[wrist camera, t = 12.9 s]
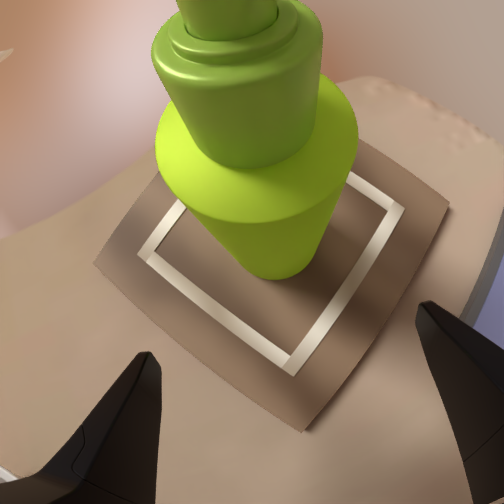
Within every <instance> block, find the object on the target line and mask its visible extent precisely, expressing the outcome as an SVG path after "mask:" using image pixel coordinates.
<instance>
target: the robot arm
mask: <svg viewBox="0 0 504 504" xmlns="http://www.w3.org/2000/svg"><path fill="white" fill-rule="evenodd" d="M415 324H416V328H417V331H418V334H419V337H420V341H421V344H422V347H423V350H424V354H425V357H426V360H427V363H428V366H429V369H430V371H431V373H432V376H433V378H434V381H435V383H436V386H437V388H438V391H439V393H440V396H441V399H442V401H443V404H444V407H445V409H446V412H447V415H448V418H449V421H450V423H451V426H452V429H453V432H454V435H455V438H456V441H457V445H458V448H459V451H460V454H461V458H462V461H463V465H464V468H465V472H466V476H467V479H468V483H469V487H470V491H471V495H472V500H473V504H489V503H491V502H494V501H496V500H498V499H500V498H502V497H504V349H502V348H501V347H499V346H498V345H497V344H495V343H494V342H492V341H491V340H489V339H488V338H487V337H485V336H484V335H482V334H481V333H479V332H478V331H476V330H475V329H473V328H472V327H470V326H469V325H468V324H466V323H465V322H463V321H462V320H460V319H459V318H457V317H456V316H454V315H453V314H451V313H450V312H448V311H446V310H445V309H443V308H442V307H440V306H439V305H437V304H436V303H434V302H433V301H425V302H422V303H420V304H419V306H418V311H417V315H416V320H415ZM161 412H162V371H161V367H160V365H159V363H158V362H157V360H156V359H155V357H154V356H153V354H152V353H151V352H149V351H147V352H140V353H138V354H137V355H136V356H135V358H134V359H133V360H132V361H131V363H130V364H129V365H128V366H127V368H126V369H125V370H124V371H123V372H122V374H121V375H120V376H119V377H118V379H117V380H116V381H115V382H114V384H113V385H112V386H111V387H110V389H109V390H108V391H107V392H106V394H105V395H104V396H103V397H102V399H101V400H100V401H99V402H98V404H97V405H96V406H95V407H94V409H93V410H92V411H91V412H90V414H89V415H88V416H87V418H86V419H85V420H84V421H83V423H82V424H81V425H80V426H79V428H78V429H77V430H76V431H75V433H74V434H73V435H72V436H71V438H70V439H69V440H68V441H67V442H66V443H65V445H64V446H63V447H62V448H61V449H60V450H59V451H58V452H57V453H56V454H55V455H54V456H53V457H52V458H51V460H50V461H49V462H48V463H47V464H46V465H45V466H44V467H43V468H42V469H41V470H40V471H38V472H37V473H35V474H34V475H32V476H29V477H25V478H21V479H17V480H13V481H9V482H4V483H0V504H155V497H156V477H157V461H158V447H159V434H160V423H161ZM502 504H504V503H502Z"/></svg>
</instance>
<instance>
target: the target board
mask: <svg viewBox="0 0 504 504" xmlns="http://www.w3.org/2000/svg"><path fill="white" fill-rule="evenodd" d="M449 203H450V202H449V201H448V200H446V199H445V198H444V197H443V196H441V195H440V194H439V193H437V192H436V191H435V190H434V189H432V188H431V187H430V186H428V185H427V184H426V183H424V182H423V181H422V180H420V179H419V178H417V177H416V176H415V175H413V174H412V173H411V172H409V171H408V170H406V169H405V168H403V167H402V166H401V165H399V164H398V163H396V162H395V161H393V160H392V159H390V158H389V157H387V156H386V155H384V154H383V153H381V152H380V151H378V150H377V149H375V148H373V147H372V146H370V145H369V144H367V143H365V142H364V141H362V140H361V139H359V138H358V148H357V153H356V157H355V160H354V163H353V165H352V168H351V170H350V173H349V175H348V178H347V180H346V182H345V185H344V187H343V190H342V192H341V195H340V197H339V199H338V202H337V204H336V206H335V209H334V211H333V213H332V216H331V218H330V220H329V223H328V225H327V227H326V229H325V232H324V234H323V236H322V238H321V241H320V243H319V245H318V247H317V250H316V252H315V254H314V256H313V258H312V260H311V261H310V262H309V264H308V265H307V266H306V267H305V268H304V269H303V270H302V271H300V272H299V273H297V274H296V275H294V276H292V277H289V278H286V279H281V280H267V279H263V278H259V277H257V276H255V275H253V274H251V273H249V272H248V271H247V270H246V269H244V268H243V267H242V266H241V265H240V264H239V262H238V261H237V260H236V259H235V258H234V257H233V256H232V255H231V254H230V253H229V252H228V251H227V250H226V249H225V248H224V247H223V246H222V245H221V244H220V243H219V242H218V240H217V239H216V238H215V237H214V236H213V235H212V234H211V233H210V232H209V231H208V230H207V229H206V228H205V227H204V226H203V225H202V224H201V223H200V221H199V220H198V219H197V218H196V217H195V216H194V215H193V214H192V213H191V212H190V211H189V210H188V209H187V208H186V207H185V206H184V204H183V203H182V202H181V201H180V200H179V199H178V198H177V197H176V196H175V195H174V194H173V193H172V191H171V190H170V189H169V187H168V186H167V185H166V183H165V181H164V180H163V178H162V176H161V173H160V171H159V172H158V173H157V175H156V176H155V177H154V178H153V180H152V181H151V182H150V183H149V185H148V186H147V187H146V189H145V190H144V191H143V192H142V194H141V195H140V196H139V198H138V199H137V200H136V202H135V203H134V204H133V206H132V207H131V208H130V210H129V211H128V212H127V214H126V215H125V217H124V218H123V219H122V221H121V222H120V224H119V225H118V226H117V228H116V229H115V231H114V232H113V234H112V235H111V237H110V238H109V239H108V241H107V242H106V244H105V245H104V247H103V248H102V250H101V251H100V253H99V254H98V256H97V257H96V259H95V261H94V262H93V264H94V265H95V266H96V267H97V268H98V269H99V270H100V271H101V272H102V273H103V274H104V275H105V276H106V277H107V278H108V279H109V280H110V281H111V282H112V283H113V284H114V285H115V286H116V287H117V288H118V289H119V290H120V291H121V292H122V293H123V294H124V295H125V296H126V297H127V298H128V299H129V300H130V301H131V302H132V303H133V304H134V305H136V306H137V307H138V308H139V309H140V310H141V311H142V312H143V313H144V314H145V315H146V316H147V317H149V318H150V319H151V320H152V321H153V322H154V323H155V324H156V325H158V326H159V327H160V328H161V329H162V330H163V331H164V332H166V333H167V334H168V335H169V336H170V337H171V338H173V339H174V340H175V341H176V342H177V343H178V344H180V345H181V346H182V347H183V348H184V349H186V350H187V351H188V352H189V353H191V354H192V355H193V356H194V357H195V358H197V359H198V360H199V361H200V362H202V363H203V364H204V365H205V366H207V367H208V368H209V369H211V370H212V371H213V372H214V373H216V374H217V375H218V376H220V377H221V378H222V379H224V380H225V381H226V382H228V383H229V384H230V385H232V386H233V387H234V388H236V389H237V390H238V391H240V392H241V393H243V394H244V395H245V396H247V397H248V398H250V399H251V400H252V401H254V402H255V403H257V404H258V405H259V406H261V407H262V408H264V409H265V410H267V411H268V412H270V413H271V414H273V415H274V416H276V417H277V418H279V419H280V420H282V421H283V422H285V423H286V424H288V425H289V426H291V427H293V428H294V429H296V430H297V431H299V432H300V433H302V432H303V431H304V429H305V428H306V427H307V426H308V425H309V424H310V423H311V421H312V420H313V419H314V418H315V417H316V416H317V414H318V413H319V412H320V411H321V410H322V408H323V407H324V406H325V405H326V404H327V402H328V401H329V400H330V399H331V397H332V396H333V395H334V394H335V392H336V391H337V390H338V389H339V387H340V386H341V385H342V383H343V382H344V381H345V379H346V378H347V377H348V375H349V374H350V373H351V371H352V370H353V369H354V367H355V366H356V365H357V363H358V362H359V360H360V359H361V358H362V356H363V355H364V353H365V352H366V351H367V349H368V348H369V346H370V345H371V343H372V342H373V340H374V339H375V337H376V336H377V334H378V333H379V331H380V330H381V328H382V327H383V325H384V324H385V322H386V321H387V319H388V317H389V316H390V314H391V313H392V311H393V310H394V308H395V306H396V305H397V303H398V301H399V300H400V298H401V296H402V295H403V293H404V291H405V290H406V288H407V286H408V284H409V283H410V281H411V279H412V277H413V275H414V274H415V272H416V270H417V268H418V266H419V265H420V263H421V261H422V259H423V257H424V255H425V253H426V251H427V249H428V247H429V245H430V243H431V241H432V239H433V237H434V235H435V233H436V231H437V229H438V227H439V225H440V223H441V221H442V219H443V216H444V214H445V212H446V210H447V208H448V205H449Z"/></svg>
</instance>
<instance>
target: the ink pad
mask: <svg viewBox="0 0 504 504" xmlns="http://www.w3.org/2000/svg"><path fill="white" fill-rule="evenodd" d="M459 319H460V320H462V321H463V322H465V323H466V324H468V325H469V326H470V327H472V328H473V329H475V330H476V331H478V332H479V333H481V334H482V335H484V336H485V337H487V338H488V339H489V340H491V341H492V342H494V343H495V344H497V345H498V346H499V347H501V348H502V349H504V209H503V212H502V215H501V219H500V222H499V225H498V228H497V231H496V234H495V237H494V240H493V242H492V245H491V248H490V250H489V253H488V256H487V258H486V261H485V263H484V266H483V268H482V271H481V273H480V275H479V278H478V280H477V282H476V285H475V287H474V289H473V291H472V293H471V295H470V298H469V300H468V302H467V304H466V306H465V308H464V310H463V312H462V314H461V316H460V318H459Z"/></svg>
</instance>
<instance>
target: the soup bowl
mask: <svg viewBox="0 0 504 504" xmlns="http://www.w3.org/2000/svg"><path fill="white" fill-rule="evenodd" d="M21 478H23V477H20V476H18V475H15V474H13V473H11V472H10V471H9V470H7V469H6V468H4V467H2V466H1V465H0V483H4V482H9V481H13V480H17V479H21Z"/></svg>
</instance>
